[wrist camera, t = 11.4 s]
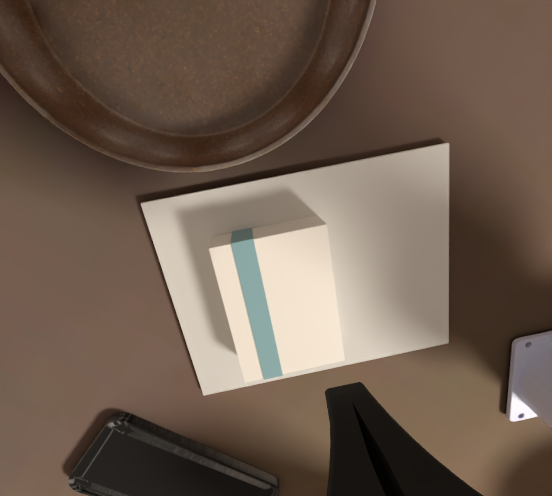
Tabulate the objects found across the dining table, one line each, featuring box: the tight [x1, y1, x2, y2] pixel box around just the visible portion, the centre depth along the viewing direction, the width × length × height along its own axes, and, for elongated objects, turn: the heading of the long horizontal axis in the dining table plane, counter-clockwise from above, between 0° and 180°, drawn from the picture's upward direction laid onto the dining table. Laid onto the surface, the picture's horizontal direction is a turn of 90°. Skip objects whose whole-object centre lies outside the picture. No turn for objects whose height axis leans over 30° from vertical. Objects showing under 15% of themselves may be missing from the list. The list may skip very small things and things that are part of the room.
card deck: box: [209, 215, 345, 383], centre depth 19 cm, size 2×9×6 cm
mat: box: [141, 143, 449, 395], centre depth 21 cm, size 18×14×1 cm
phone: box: [68, 413, 279, 496], centre depth 25 cm, size 8×1×15 cm
